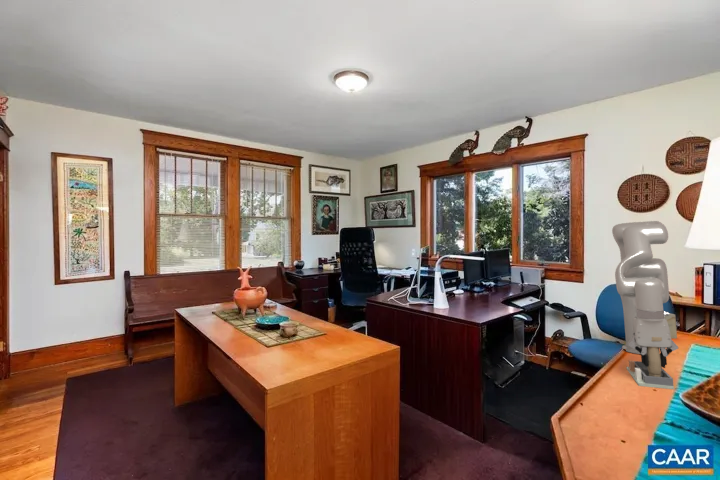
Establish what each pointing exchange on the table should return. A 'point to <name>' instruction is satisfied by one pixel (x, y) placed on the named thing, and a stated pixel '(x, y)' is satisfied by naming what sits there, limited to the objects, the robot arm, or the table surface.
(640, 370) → the grey compartment tray
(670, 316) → the skincare box
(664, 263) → the robot arm
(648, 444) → the table surface
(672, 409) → the table surface
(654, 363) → the handle
